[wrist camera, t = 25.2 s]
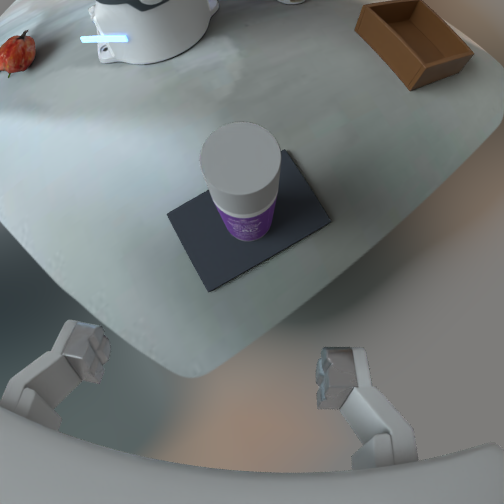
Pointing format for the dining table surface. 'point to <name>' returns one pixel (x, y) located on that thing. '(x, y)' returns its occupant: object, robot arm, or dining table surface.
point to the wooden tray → (412, 41)
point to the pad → (246, 252)
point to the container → (242, 177)
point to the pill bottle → (291, 1)
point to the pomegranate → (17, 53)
